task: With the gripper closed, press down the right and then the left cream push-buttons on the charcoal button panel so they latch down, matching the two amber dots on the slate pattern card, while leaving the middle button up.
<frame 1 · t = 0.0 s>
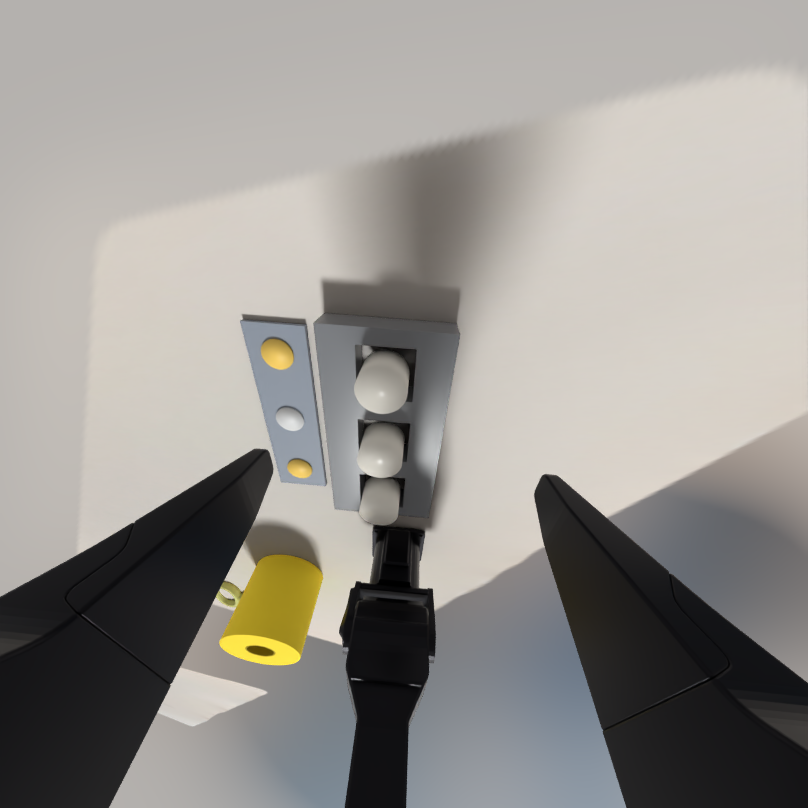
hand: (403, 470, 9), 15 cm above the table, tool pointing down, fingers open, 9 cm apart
yellow cylinder with hole: (290, 571, 44), on the table
pattern card: (292, 416, 27), on the table
key: (248, 590, 49), on the table
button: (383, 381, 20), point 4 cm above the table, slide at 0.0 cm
button middle: (381, 449, 24), point 4 cm above the table, slide at 0.0 cm
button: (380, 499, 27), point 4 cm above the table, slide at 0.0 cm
button panel: (386, 424, 27), on the table
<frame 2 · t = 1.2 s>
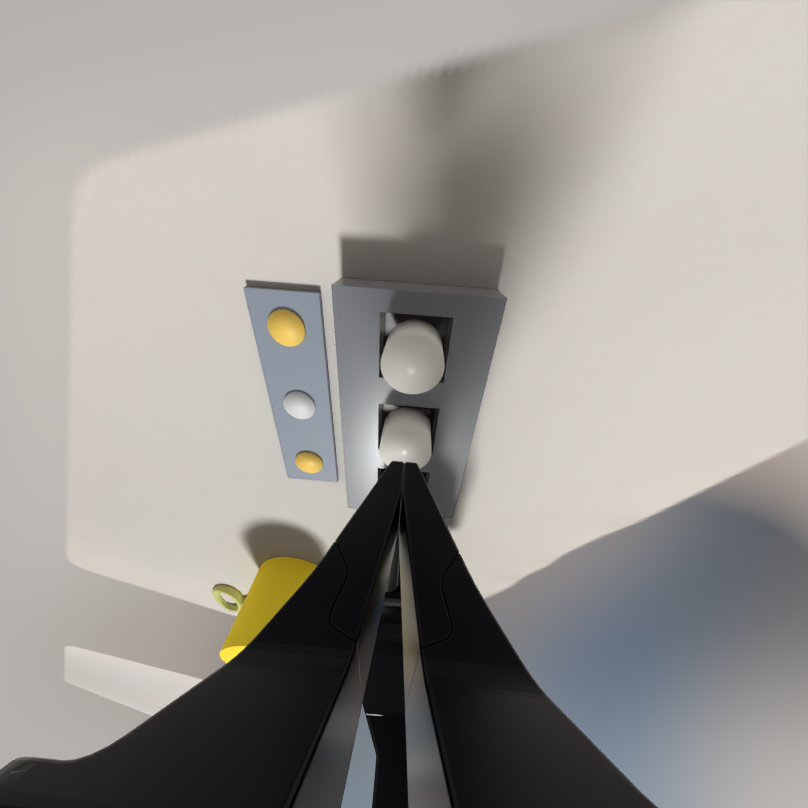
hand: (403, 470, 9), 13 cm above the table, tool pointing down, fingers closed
yellow cylinder with hole: (296, 574, 41), on the table
pattern card: (301, 402, 24), on the table
key: (251, 593, 46), on the table
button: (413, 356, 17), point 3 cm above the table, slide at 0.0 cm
button middle: (406, 438, 21), point 3 cm above the table, slide at 0.0 cm
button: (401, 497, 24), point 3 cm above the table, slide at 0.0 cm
button panel: (408, 411, 24), on the table
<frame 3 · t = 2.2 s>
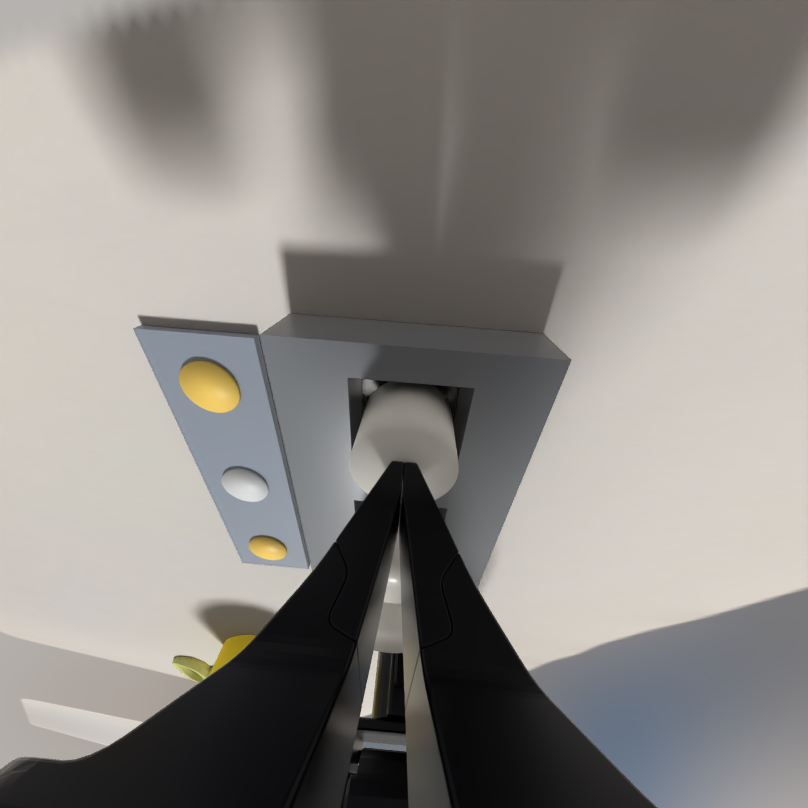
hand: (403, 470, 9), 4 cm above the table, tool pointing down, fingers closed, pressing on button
yellow cylinder with hole: (269, 649, 33), on the table
pattern card: (250, 479, 17), on the table
key: (221, 662, 39), on the table
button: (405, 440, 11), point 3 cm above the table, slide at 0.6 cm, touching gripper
button middle: (396, 551, 14), point 4 cm above the table, slide at 0.0 cm
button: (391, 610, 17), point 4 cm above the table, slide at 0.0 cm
button panel: (401, 492, 17), on the table
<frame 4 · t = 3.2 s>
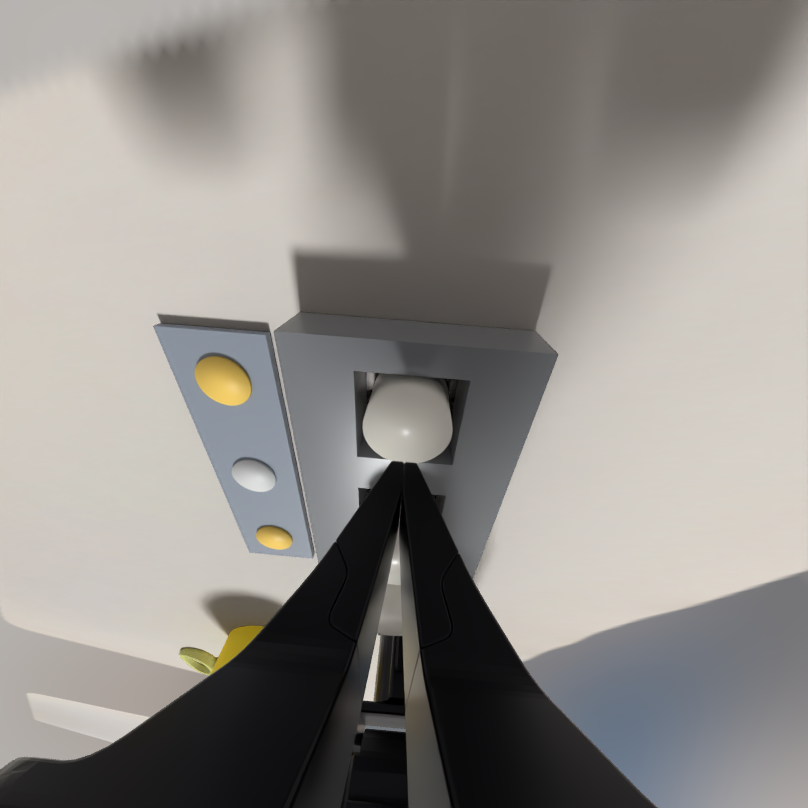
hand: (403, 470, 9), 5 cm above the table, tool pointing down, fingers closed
yellow cylinder with hole: (272, 641, 34), on the table
pattern card: (258, 470, 18), on the table
key: (226, 654, 39), on the table
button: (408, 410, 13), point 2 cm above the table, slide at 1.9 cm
button middle: (398, 536, 15), point 4 cm above the table, slide at 0.0 cm
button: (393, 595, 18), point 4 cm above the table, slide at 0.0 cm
button panel: (402, 483, 17), on the table
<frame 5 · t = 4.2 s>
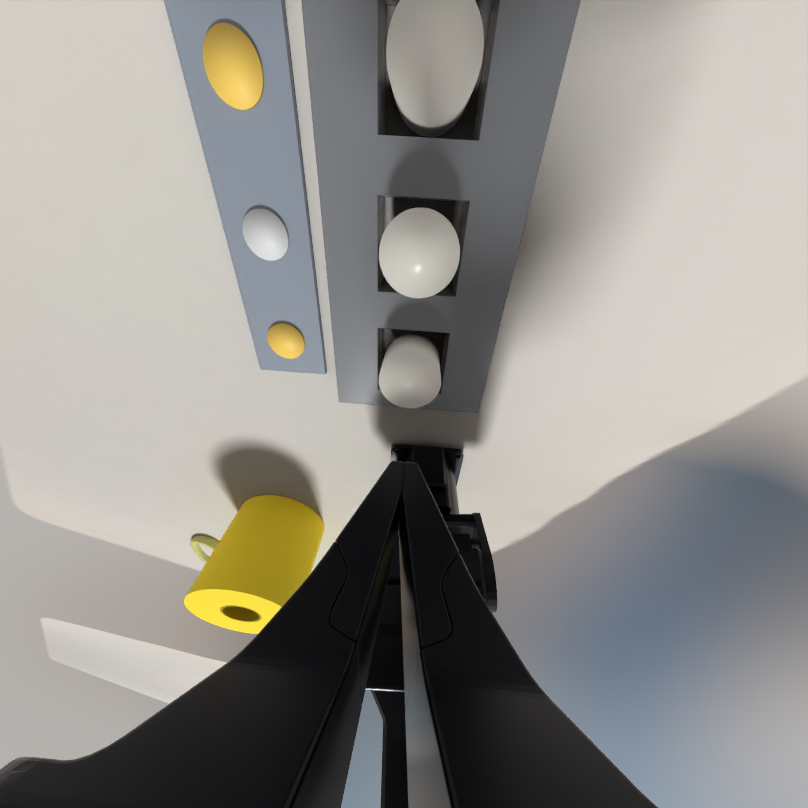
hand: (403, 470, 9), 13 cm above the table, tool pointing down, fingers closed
yellow cylinder with hole: (283, 520, 34), on the table
pattern card: (269, 235, 17), on the table
key: (237, 547, 39), on the table
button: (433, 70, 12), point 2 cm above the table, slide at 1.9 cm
button middle: (419, 252, 14), point 4 cm above the table, slide at 0.0 cm
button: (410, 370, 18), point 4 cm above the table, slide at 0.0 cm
button panel: (420, 245, 17), on the table
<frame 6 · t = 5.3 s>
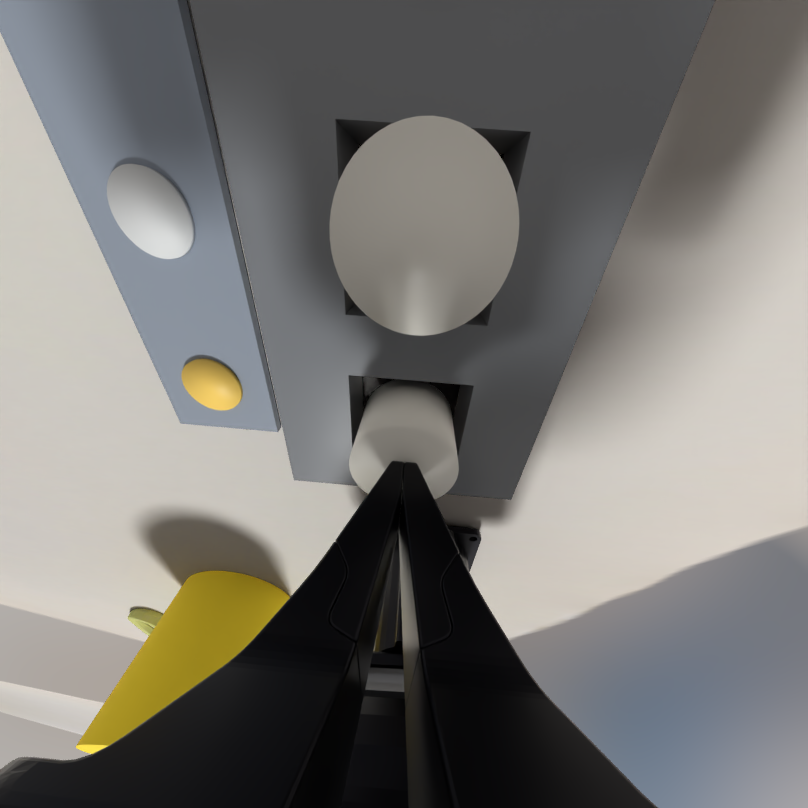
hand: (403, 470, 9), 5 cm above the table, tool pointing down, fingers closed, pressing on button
yellow cylinder with hole: (242, 596, 27), on the table
pattern card: (164, 215, 10), on the table
key: (190, 618, 31), on the table
button middle: (422, 240, 7), point 4 cm above the table, slide at 0.0 cm
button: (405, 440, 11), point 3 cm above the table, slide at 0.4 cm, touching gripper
button panel: (423, 234, 10), on the table
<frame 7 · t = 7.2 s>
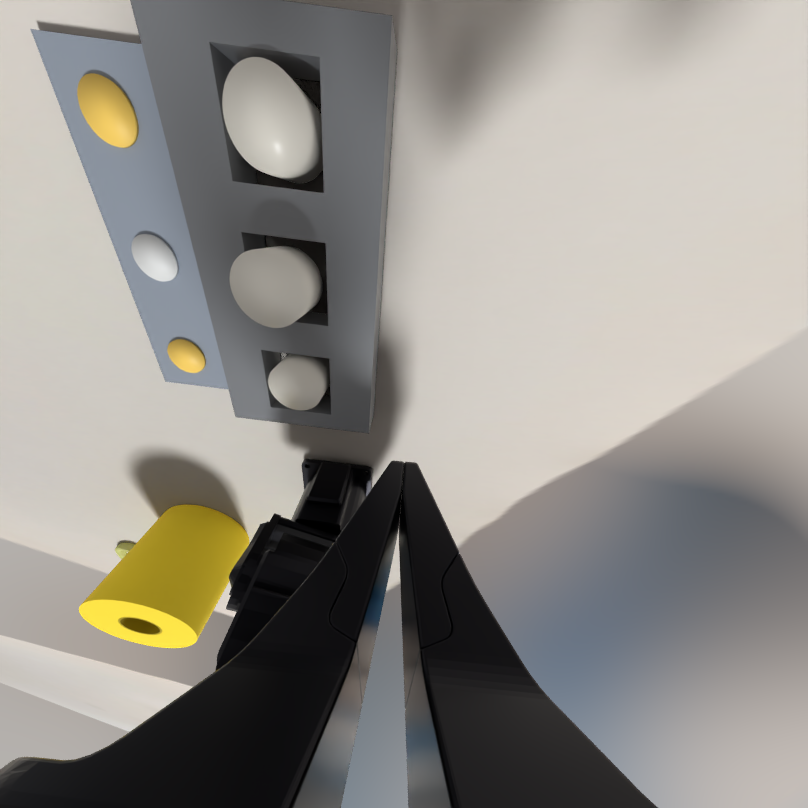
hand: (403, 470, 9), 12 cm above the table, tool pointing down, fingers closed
yellow cylinder with hole: (207, 530, 34), on the table
pattern card: (161, 257, 18), on the table
key: (167, 554, 38), on the table
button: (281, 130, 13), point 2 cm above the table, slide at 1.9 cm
button middle: (280, 285, 15), point 4 cm above the table, slide at 0.0 cm
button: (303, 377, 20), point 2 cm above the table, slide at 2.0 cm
button panel: (303, 276, 18), on the table
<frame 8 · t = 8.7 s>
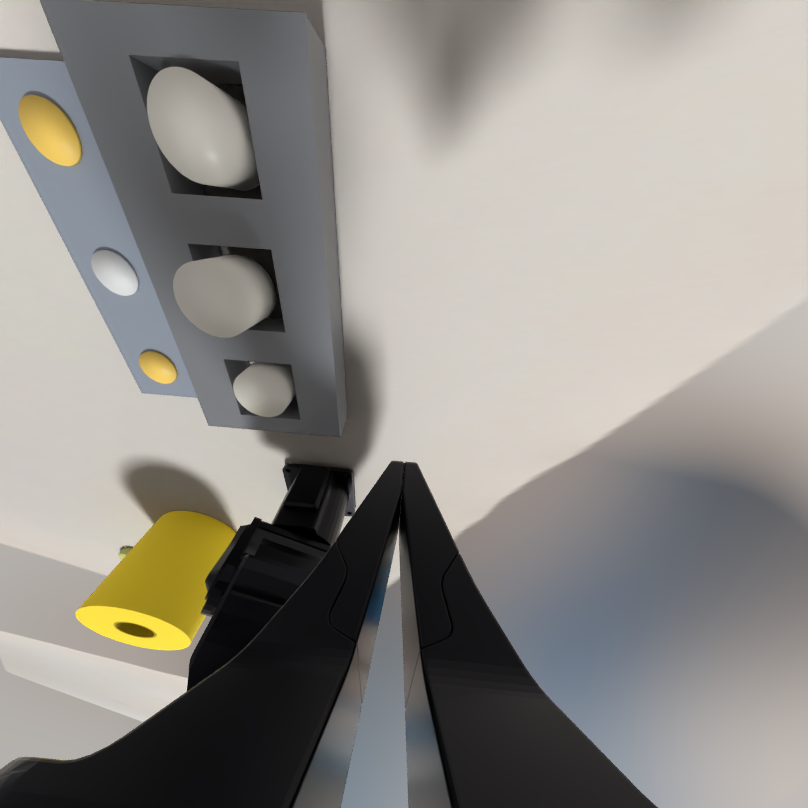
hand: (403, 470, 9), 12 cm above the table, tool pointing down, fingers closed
yellow cylinder with hole: (202, 535, 35), on the table
pattern card: (122, 272, 18), on the table
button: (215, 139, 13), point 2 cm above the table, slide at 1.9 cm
button middle: (229, 295, 15), point 3 cm above the table, slide at 0.0 cm
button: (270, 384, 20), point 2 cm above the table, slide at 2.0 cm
button panel: (261, 283, 18), on the table
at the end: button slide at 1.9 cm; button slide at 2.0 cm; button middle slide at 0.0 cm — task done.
